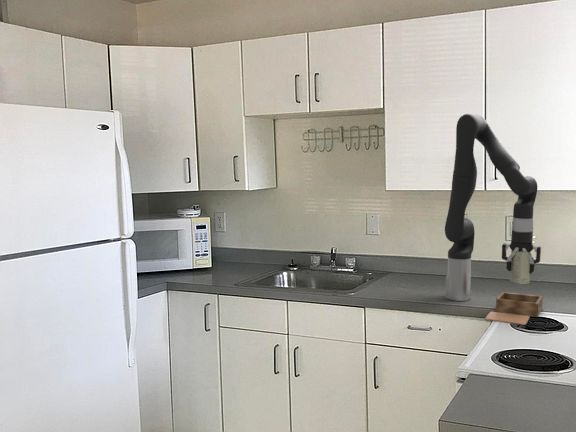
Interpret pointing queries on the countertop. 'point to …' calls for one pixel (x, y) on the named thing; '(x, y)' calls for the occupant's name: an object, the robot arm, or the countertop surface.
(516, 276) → the skincare box
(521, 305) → the frame
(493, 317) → the terracotta tile
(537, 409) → the countertop surface
